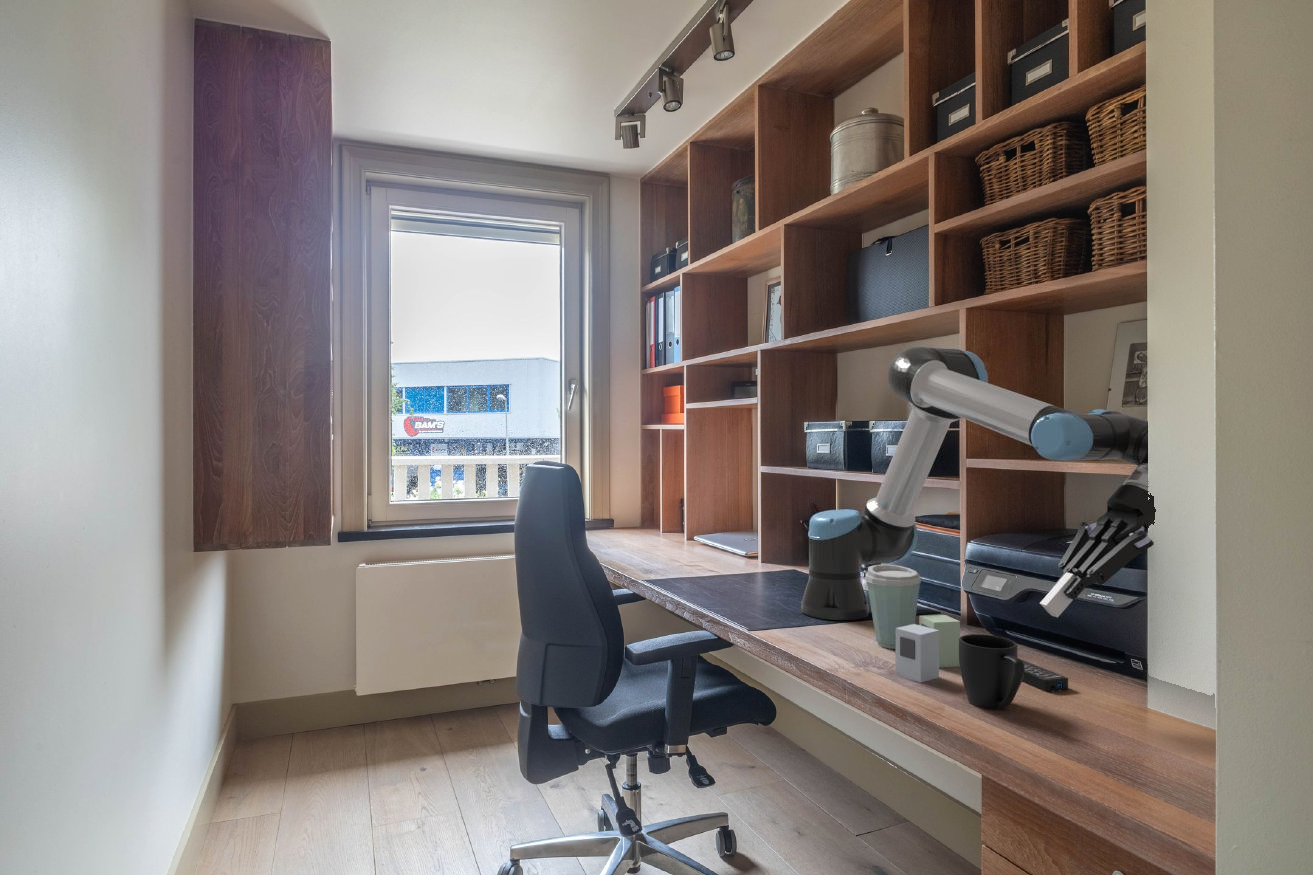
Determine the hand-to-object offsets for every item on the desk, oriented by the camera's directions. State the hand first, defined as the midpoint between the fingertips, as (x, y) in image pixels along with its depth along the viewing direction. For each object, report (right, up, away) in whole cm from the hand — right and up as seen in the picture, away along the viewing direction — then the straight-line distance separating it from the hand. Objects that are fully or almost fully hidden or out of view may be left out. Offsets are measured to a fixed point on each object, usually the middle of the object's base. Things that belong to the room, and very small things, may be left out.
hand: (1048, 610), depth 111 cm
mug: (-9, -15, -1) cm, 17 cm away
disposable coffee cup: (-13, -15, +32) cm, 37 cm away
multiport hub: (+3, -15, +11) cm, 19 cm away
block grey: (-15, -14, +13) cm, 25 cm away
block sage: (-9, -14, +21) cm, 27 cm away
